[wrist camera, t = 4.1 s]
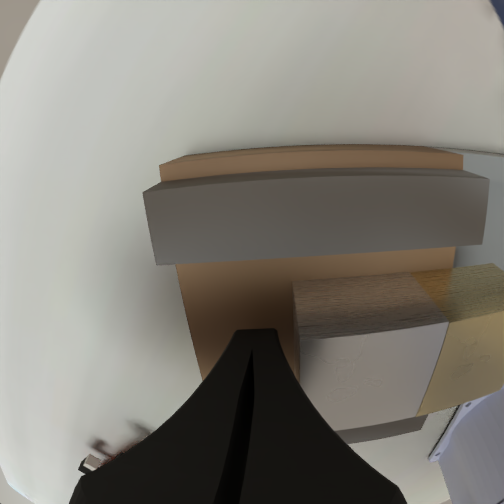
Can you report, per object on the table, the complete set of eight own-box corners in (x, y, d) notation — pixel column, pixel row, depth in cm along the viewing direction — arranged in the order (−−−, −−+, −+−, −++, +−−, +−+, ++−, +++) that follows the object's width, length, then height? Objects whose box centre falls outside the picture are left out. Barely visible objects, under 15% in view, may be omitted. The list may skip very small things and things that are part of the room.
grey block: (392, 361, 11) (415, 416, 8) (294, 372, 11) (298, 434, 9) (408, 271, 9) (449, 321, 7) (292, 280, 10) (300, 340, 7)
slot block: (393, 374, 15) (417, 435, 11) (223, 387, 16) (213, 454, 12) (423, 146, 11) (490, 162, 6) (184, 155, 11) (139, 173, 7)
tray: (501, 348, 14) (515, 366, 13) (394, 373, 15) (404, 399, 13) (543, 161, 10) (568, 168, 8) (424, 146, 11) (449, 151, 9)
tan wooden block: (469, 345, 11) (500, 390, 8) (392, 361, 11) (415, 417, 8) (492, 262, 9) (538, 301, 6) (408, 272, 9) (449, 323, 7)
